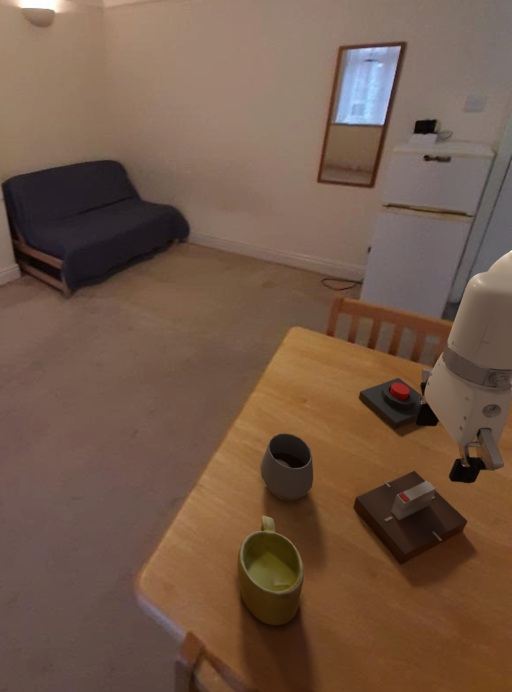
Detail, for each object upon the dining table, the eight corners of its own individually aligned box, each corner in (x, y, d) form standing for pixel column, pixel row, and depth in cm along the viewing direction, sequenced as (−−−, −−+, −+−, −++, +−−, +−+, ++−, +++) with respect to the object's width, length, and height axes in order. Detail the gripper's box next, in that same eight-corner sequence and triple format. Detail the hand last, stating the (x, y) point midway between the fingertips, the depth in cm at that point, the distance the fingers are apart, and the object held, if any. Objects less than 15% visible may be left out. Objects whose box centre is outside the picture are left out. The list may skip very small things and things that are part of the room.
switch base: (407, 478, 78) (411, 467, 77) (466, 535, 68) (471, 523, 67) (350, 504, 74) (353, 493, 72) (404, 569, 64) (408, 557, 63)
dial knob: (421, 497, 71) (427, 479, 69) (429, 505, 70) (436, 487, 68) (390, 511, 69) (397, 493, 67) (398, 520, 68) (405, 502, 66)
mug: (311, 650, 55) (296, 587, 53) (238, 630, 59) (222, 572, 58) (316, 567, 65) (303, 514, 64) (253, 556, 70) (241, 506, 69)
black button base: (396, 384, 100) (400, 371, 98) (434, 413, 91) (439, 400, 90) (358, 398, 96) (361, 385, 95) (394, 430, 88) (398, 416, 86)
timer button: (398, 386, 94) (399, 380, 94) (411, 397, 91) (413, 391, 91) (386, 390, 93) (387, 385, 93) (399, 401, 90) (401, 395, 90)
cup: (257, 502, 75) (261, 466, 71) (260, 459, 83) (264, 424, 79) (311, 516, 72) (319, 479, 68) (309, 470, 80) (316, 435, 76)
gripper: (561, 413, 46) (508, 508, 53) (467, 324, 61) (436, 407, 68) (490, 411, 46) (448, 505, 54) (415, 323, 62) (390, 405, 69)
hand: (441, 450), depth 61 cm, fingers open, 9 cm apart
